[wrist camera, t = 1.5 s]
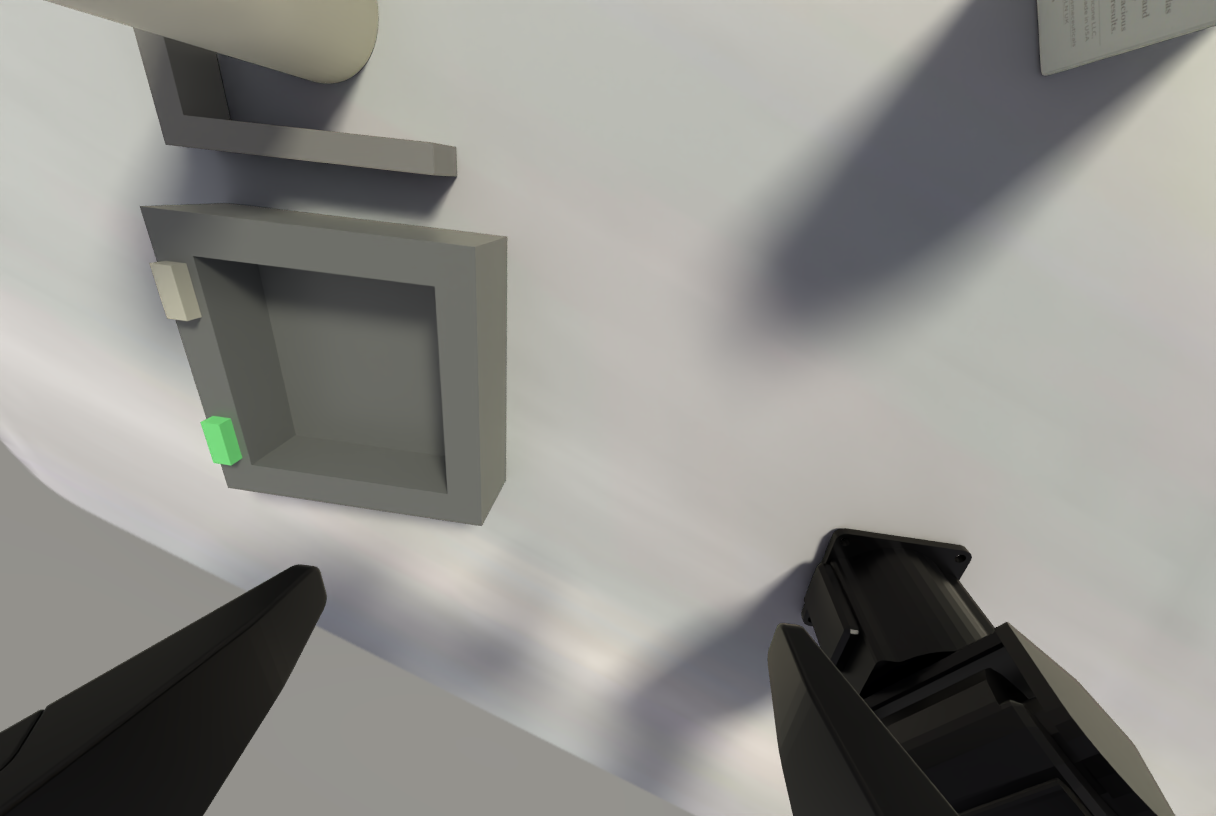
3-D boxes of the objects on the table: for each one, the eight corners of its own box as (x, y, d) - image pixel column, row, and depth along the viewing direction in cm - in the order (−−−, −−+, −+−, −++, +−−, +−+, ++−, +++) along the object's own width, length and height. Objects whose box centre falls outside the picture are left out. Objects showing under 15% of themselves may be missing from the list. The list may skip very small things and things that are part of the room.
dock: (507, 236, 19) (468, 249, 15) (505, 480, 24) (476, 535, 20) (226, 203, 19) (122, 207, 16) (284, 448, 25) (216, 495, 21)
